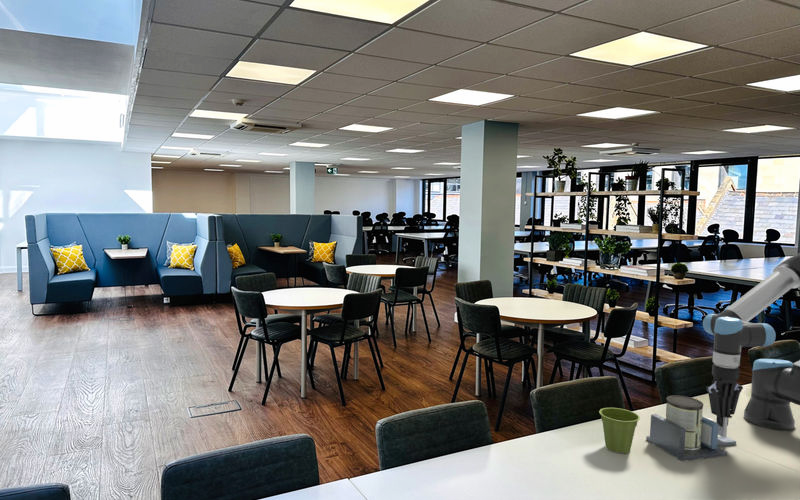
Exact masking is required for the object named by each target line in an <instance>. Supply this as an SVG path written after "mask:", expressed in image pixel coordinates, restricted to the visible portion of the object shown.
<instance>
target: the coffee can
mask: <svg viewBox="0 0 800 500" xmlns="http://www.w3.org/2000/svg"><path fill="white" fill-rule="evenodd" d="M703 409H704V402H702V401H701V400H699V399H697V398H694V397H691V396H687V395H686V396H685V395H679V394H678V395H677V394H675V395H668V396H667V397H666V408H665V419H667V420H669V421H671V422H673V423H675V424H677V425H679V426H681V427H683V428H685V429H686V435H685V450H699V449H700V447H701V446H700V443H701V426H702V416H703Z"/></svg>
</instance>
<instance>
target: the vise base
mask: <svg viewBox="0 0 800 500" xmlns="http://www.w3.org/2000/svg"><path fill="white" fill-rule="evenodd" d="M649 427H650V429H649V435H647V436H645V438H646V439H645V440H646V441H648V442H649V443H651V444H652V445H654V446H655V447H657V448H659V449H661V450H663V451H665V453H668V454H670V455H672V456H673V457H674V456H675V458H676V457H677V458H676V459H678V460H680V461H682V462H685V461H686V460H687V461H694V460H703V459H709V458H710V459H711V458H718V457H725V456H728V451H726V450H724V449H722V448H721V447H729V446H730V447H731V446H737V441H736V440H735V439H733V438H731V437H728V436H726V437H722V436H718V441H717V449H711V448H709V447H707V446H705V445H703V444H701V443H700V446H701V447H700V449H699V450H685V435H686V429H685V428H683V427H681V426H679V425H677V424H675V423H673V422H671V421H669V420H667V419H666V417H663V416H660V415H658V414H657V413H655V414H652V413H651V414H650V426H649Z"/></svg>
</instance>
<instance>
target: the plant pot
mask: <svg viewBox="0 0 800 500" xmlns="http://www.w3.org/2000/svg"><path fill="white" fill-rule="evenodd" d="M598 412H599V415H600V416H601V417H600V418H601V422H602V428H603V435H604V443H605V447H606V448H607V450H609V451H611V452H613V453H617V454H620V453H623V454H627V453H630V452H631V449H632V448H631V447H632V445H633V440H634V435H635V431H636V427H637V426H638V421H640V419H641V417H640V415H639V414H637V413H636V412H634V411H631V410H628V409H624V408H620V407H619V408H618V407H603V408H600V410H599V411H598Z"/></svg>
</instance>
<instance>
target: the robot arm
mask: <svg viewBox="0 0 800 500" xmlns="http://www.w3.org/2000/svg"><path fill="white" fill-rule="evenodd" d="M799 287H800V252H799V253H797V254H795V255H793V256H790V257H789V258H787V259H786V260H785V259H784V260H783V261H782V262H780V263H779V264H778V265H776V266H775V267H774V268H773V270H772V273H771V274H770V275H768V276H767V277H765V278H764V279H763V280H761V281H760V282H759V283H758V284H756V285H755V286H754V287H753V288H751V289H750V290H749V291H747V292H746V293H744V295H742V296H740V297H739V299H737V300H736V301H734V302H733V303H732V304H731V305H729V306H727V308H725V309H724V310H723V311H721V312H720V313H709V314H707V315H706V316H705V317H704V318H703V320H702V328H703V330H704V332H706V333H707V334H709V335H712V336H713V350H712V351H713V352H712V363H713V364H712V367H711V375H712V376H713V380H712V384H711V385H710V386H706V387H705V389H706V391H707V394H708V399H709V406H710V413H711V414H712V415H715V416H716V421H715V422H716V423H718V424H719V425H720V426H721V431H718V436H719V437H728V436H727V434H728V433H727V432H728V426H729V419H732V418H733V416H734V415H735V413H736V410H737V405H738V402H739V400H740V399H739V398H740V396H741V395H740V394H741V392H742V391H743V389H744V387H743V385H740V384H738V380H739V379H740V373H741V371H740V370H741V369H740V366H741V354H742V348H750V347H751V348H754V347H755V348H757V347H758V348H759V347H760V348H762V347H767V346H771V345H773V344H774V342H775V340H776V335H777V334H776V331H775V329H774V327H773V326H771V324H769V323H764V322H763V323H762V322H756V323H755V322H750V321H751V320H752V319H754V318H755V317H756V316H758V315H759V314H760V313H761V312H763V311H764V310H765V309H766V308H768V307H769V306H771V305H772V304H773V303H774V302H775V301H777V300H778V299H779V298H781V297H782V296H783V295H785V294H786V293H787V292H789V291H790V290H791V289H798V288H799ZM751 371H752V374H751V388H750V389H751V390H750V398H749V400H748V402H747V405H746V406H745V409H744V411H743V417H744V419H745V420H746V421H748V422H750V423H752V424H754V425H758V426H761V427H764V428H768V429H773V430H779V431H787V430H788V431H790V430H793V429H794V428H795V427H796V426H795V424H796V423H795V422H796V421H795V418H794V415H793V411H792V407H791V403H793V404H794V405H796V406H797V405H798V406H800V359H799V360H797V361H795V362H792V361H790V360H784V359H778V358H777V359H775V358H759V359H756V360H754V362H753V366H752V369H751Z"/></svg>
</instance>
